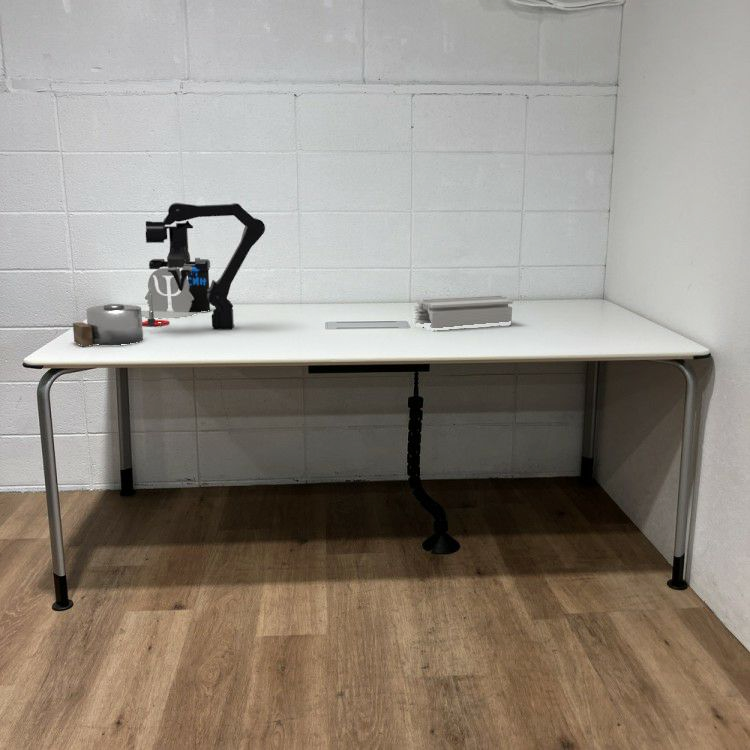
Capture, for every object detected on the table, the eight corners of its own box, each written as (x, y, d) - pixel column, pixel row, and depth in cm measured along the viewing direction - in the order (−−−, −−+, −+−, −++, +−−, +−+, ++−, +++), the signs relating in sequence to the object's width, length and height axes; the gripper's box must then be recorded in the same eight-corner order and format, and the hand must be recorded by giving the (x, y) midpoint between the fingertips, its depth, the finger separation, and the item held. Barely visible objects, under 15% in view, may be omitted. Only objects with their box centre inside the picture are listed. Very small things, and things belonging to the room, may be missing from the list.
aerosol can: (193, 308, 306) (190, 256, 301) (213, 309, 305) (211, 256, 300) (185, 312, 298) (182, 258, 293) (206, 313, 297) (204, 259, 292)
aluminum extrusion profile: (414, 325, 279) (414, 296, 277) (490, 320, 290) (491, 292, 288) (431, 332, 266) (432, 302, 264) (511, 327, 277) (512, 298, 275)
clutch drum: (148, 335, 255) (146, 301, 252) (136, 346, 239) (134, 309, 236) (97, 335, 254) (94, 301, 251) (82, 346, 238) (79, 309, 235)
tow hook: (150, 322, 279) (138, 326, 270) (149, 285, 276) (137, 288, 267) (173, 323, 278) (162, 327, 269) (172, 286, 275) (161, 289, 266)
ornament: (198, 314, 295) (196, 268, 291) (185, 320, 283) (183, 272, 279) (142, 312, 298) (139, 267, 294) (126, 318, 285) (123, 271, 281)
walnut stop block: (84, 341, 244) (82, 322, 243) (93, 345, 238) (91, 326, 237) (74, 342, 243) (72, 323, 241) (82, 347, 236) (81, 327, 235)
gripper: (143, 244, 249) (146, 294, 253) (203, 244, 250) (205, 294, 254) (151, 241, 260) (154, 289, 264) (209, 242, 261) (211, 289, 265)
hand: (181, 290), depth 261 cm, fingers closed
